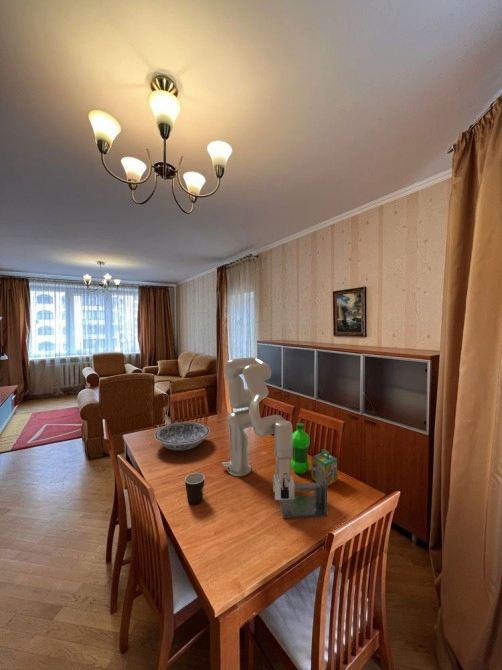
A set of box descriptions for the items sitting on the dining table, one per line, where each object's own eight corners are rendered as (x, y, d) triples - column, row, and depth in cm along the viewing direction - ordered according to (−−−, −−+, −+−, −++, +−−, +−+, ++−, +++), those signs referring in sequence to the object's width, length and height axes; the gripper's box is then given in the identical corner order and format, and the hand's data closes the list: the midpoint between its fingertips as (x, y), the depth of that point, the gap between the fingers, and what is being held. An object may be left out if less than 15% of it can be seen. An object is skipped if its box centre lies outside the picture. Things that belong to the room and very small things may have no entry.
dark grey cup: (195, 509, 113) (195, 486, 112) (181, 502, 117) (180, 480, 117) (213, 494, 123) (213, 473, 122) (199, 488, 127) (199, 467, 127)
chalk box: (310, 479, 134) (310, 450, 134) (322, 473, 140) (322, 445, 139) (325, 488, 127) (325, 457, 126) (337, 481, 132) (337, 451, 131)
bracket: (282, 518, 107) (282, 484, 106) (278, 499, 119) (278, 468, 118) (327, 516, 108) (327, 482, 107) (318, 497, 120) (318, 466, 119)
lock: (275, 500, 109) (275, 483, 109) (273, 490, 116) (273, 474, 116) (294, 499, 110) (294, 482, 110) (291, 489, 116) (291, 473, 116)
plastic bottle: (309, 466, 146) (309, 421, 145) (309, 477, 135) (309, 428, 134) (291, 464, 148) (290, 420, 147) (289, 475, 138) (289, 427, 137)
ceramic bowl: (182, 465, 148) (181, 447, 148) (142, 450, 166) (142, 434, 166) (220, 442, 178) (220, 427, 177) (183, 431, 196) (183, 418, 195)
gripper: (271, 442, 121) (272, 481, 121) (277, 461, 103) (277, 507, 104) (288, 441, 121) (288, 480, 122) (296, 461, 104) (296, 506, 104)
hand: (283, 492), depth 113 cm, fingers closed on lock, 6 cm apart
